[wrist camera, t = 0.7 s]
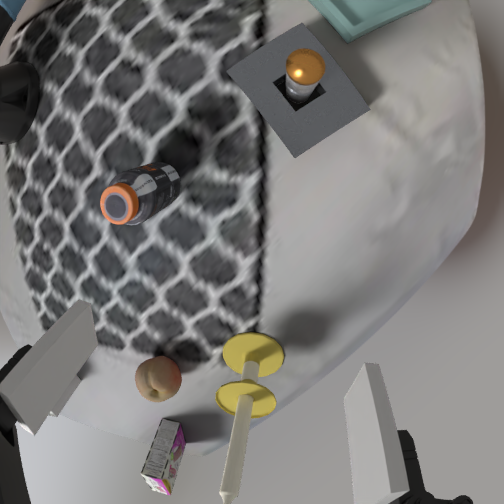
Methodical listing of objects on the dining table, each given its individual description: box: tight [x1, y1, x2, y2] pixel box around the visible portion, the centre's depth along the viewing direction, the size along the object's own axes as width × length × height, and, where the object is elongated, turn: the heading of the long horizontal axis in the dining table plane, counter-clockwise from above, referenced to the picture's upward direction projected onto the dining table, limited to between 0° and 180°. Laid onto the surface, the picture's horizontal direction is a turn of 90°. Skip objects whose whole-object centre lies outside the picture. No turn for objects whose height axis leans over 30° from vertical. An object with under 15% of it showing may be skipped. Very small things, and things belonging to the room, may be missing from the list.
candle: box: [215, 332, 284, 504], centre depth 33 cm, size 10×10×27 cm
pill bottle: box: [100, 162, 181, 225], centre depth 31 cm, size 6×6×11 cm
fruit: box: [135, 356, 182, 402], centre depth 45 cm, size 8×8×8 cm
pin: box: [286, 48, 325, 103], centre depth 24 cm, size 3×3×14 cm
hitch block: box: [226, 23, 371, 158], centre depth 28 cm, size 12×10×4 cm
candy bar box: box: [141, 419, 186, 495], centre depth 52 cm, size 11×5×16 cm, turn 177°
